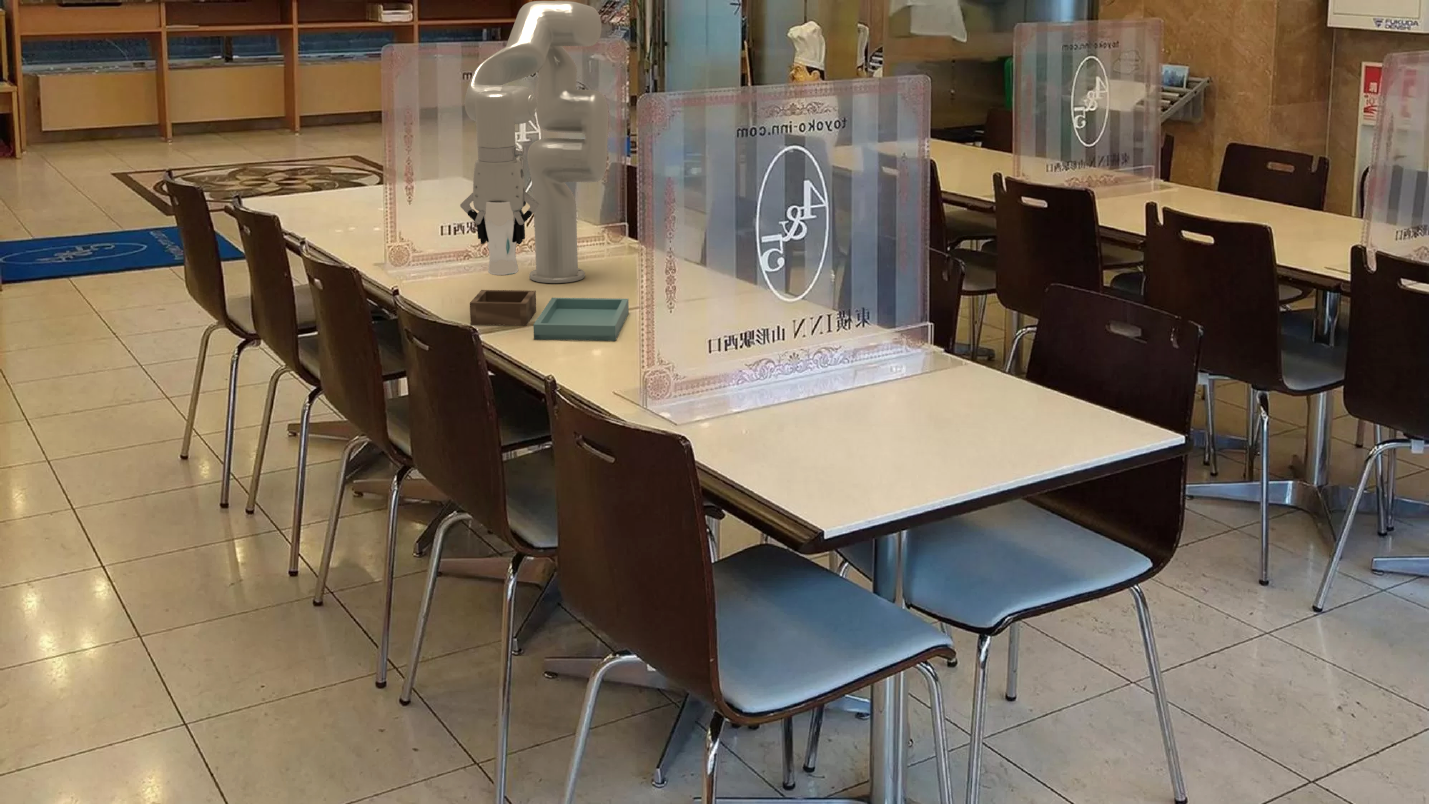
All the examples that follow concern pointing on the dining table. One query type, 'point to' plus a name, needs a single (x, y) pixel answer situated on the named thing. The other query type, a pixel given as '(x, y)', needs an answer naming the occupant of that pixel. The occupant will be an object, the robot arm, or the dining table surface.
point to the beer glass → (500, 238)
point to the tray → (581, 319)
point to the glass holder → (503, 307)
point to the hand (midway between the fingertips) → (501, 242)
